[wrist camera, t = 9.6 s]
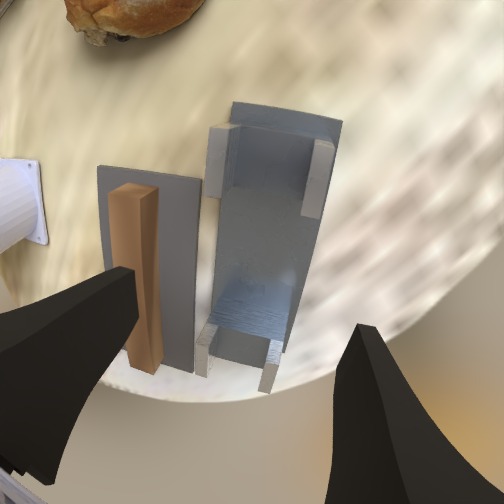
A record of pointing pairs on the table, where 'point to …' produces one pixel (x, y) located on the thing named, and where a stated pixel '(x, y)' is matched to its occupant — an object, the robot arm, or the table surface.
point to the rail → (139, 266)
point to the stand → (263, 229)
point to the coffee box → (4, 6)
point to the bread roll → (127, 17)
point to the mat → (165, 252)
